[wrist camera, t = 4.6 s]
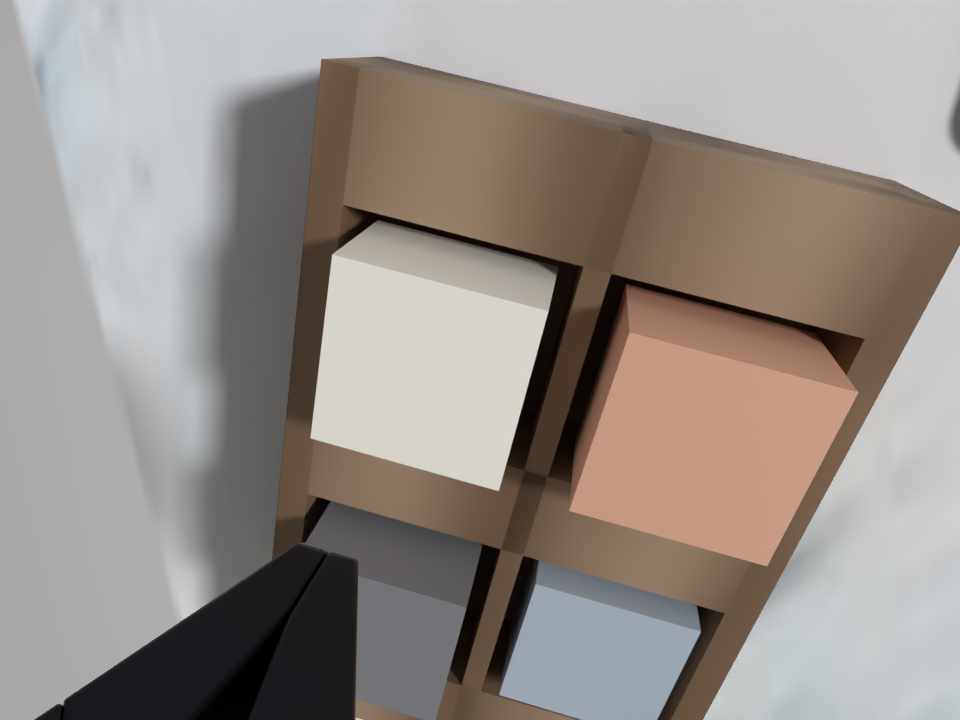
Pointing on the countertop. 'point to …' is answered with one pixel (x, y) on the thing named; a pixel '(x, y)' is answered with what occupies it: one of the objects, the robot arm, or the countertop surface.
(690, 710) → the wooden sorting tray
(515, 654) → the key
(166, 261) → the countertop surface
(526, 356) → the key
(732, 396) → the peach block
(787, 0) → the countertop surface
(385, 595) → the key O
